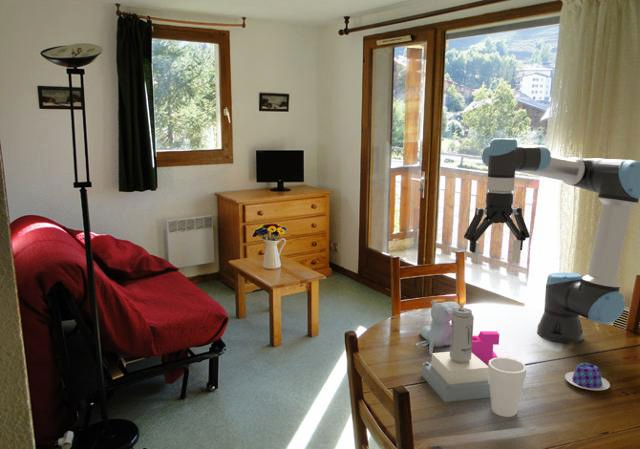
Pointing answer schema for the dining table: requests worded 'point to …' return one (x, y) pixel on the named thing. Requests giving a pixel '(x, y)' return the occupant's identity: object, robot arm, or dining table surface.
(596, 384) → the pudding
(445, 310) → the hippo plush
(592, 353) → the dining table surface
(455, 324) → the energy drink can
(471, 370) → the cream and grey box
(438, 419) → the dining table surface
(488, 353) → the bracket
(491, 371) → the foam cup
